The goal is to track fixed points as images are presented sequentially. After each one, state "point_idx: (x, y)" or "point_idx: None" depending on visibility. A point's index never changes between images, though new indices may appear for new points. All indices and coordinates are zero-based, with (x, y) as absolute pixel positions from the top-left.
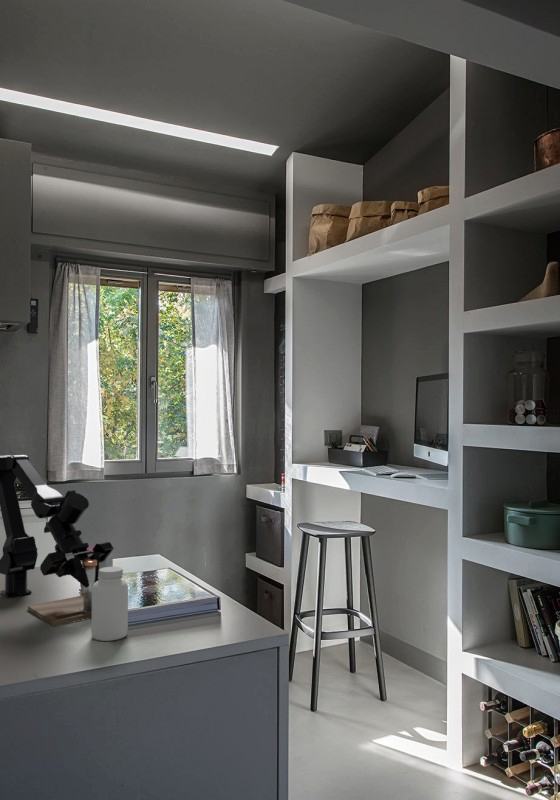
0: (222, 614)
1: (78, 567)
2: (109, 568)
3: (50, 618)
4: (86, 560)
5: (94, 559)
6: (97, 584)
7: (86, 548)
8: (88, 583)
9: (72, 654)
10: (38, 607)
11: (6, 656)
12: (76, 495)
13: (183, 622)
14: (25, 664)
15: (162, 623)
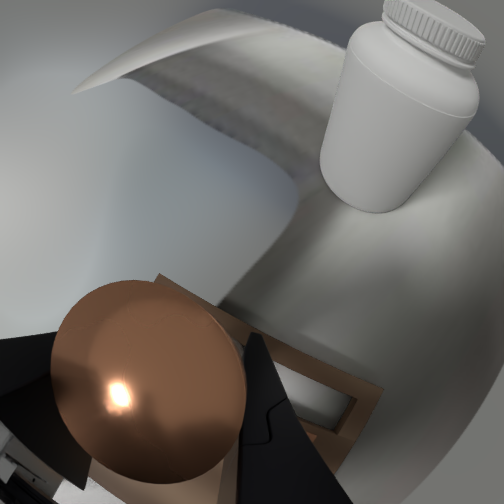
0: (136, 67)
1: (305, 439)
2: (438, 11)
3: (356, 429)
4: (112, 450)
5: (39, 371)
6: (474, 80)
7: None
8: (253, 335)
9: (471, 191)
10: None
11: None
12: None
13: (200, 85)
14: None
15: (221, 111)
